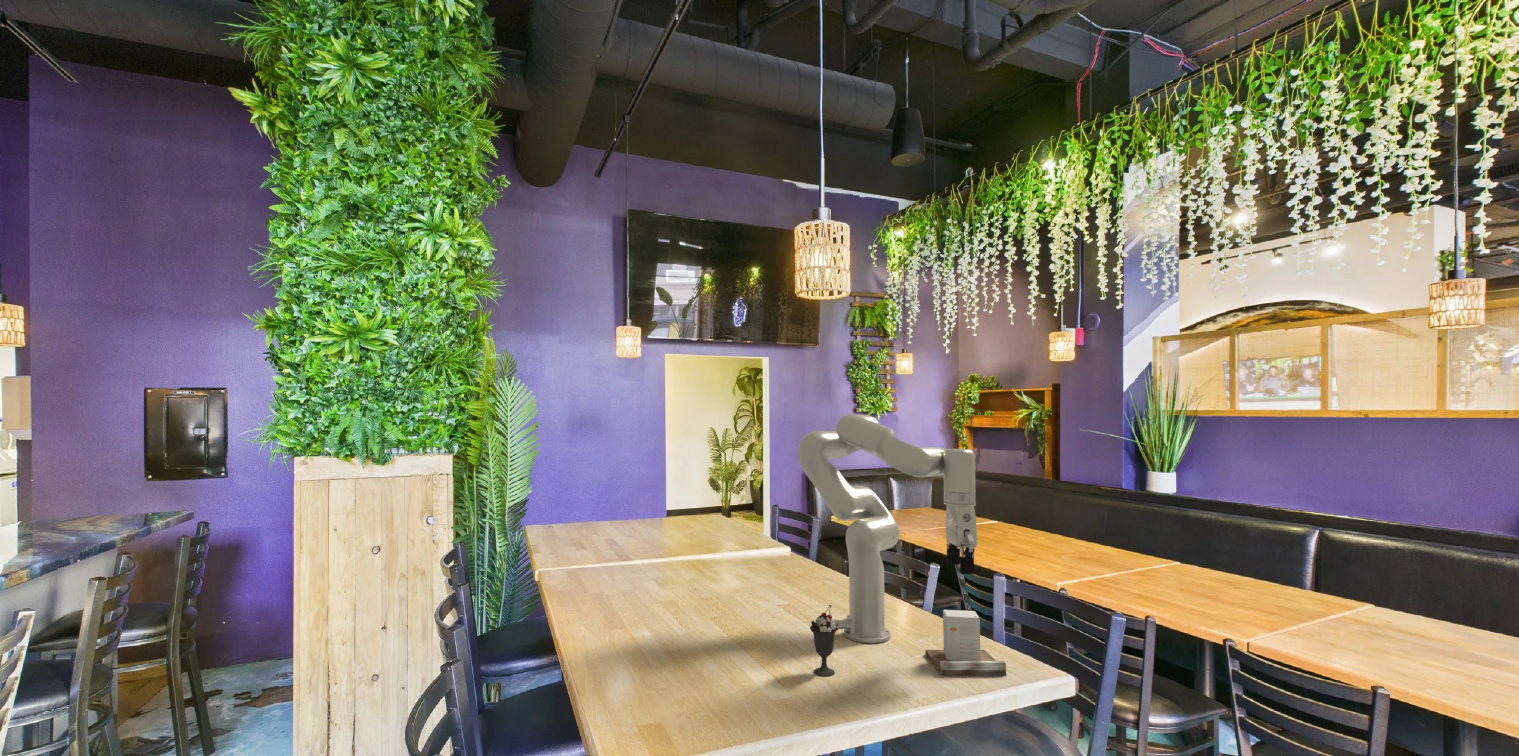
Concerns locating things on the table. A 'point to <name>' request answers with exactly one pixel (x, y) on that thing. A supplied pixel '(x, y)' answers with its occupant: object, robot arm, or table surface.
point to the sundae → (824, 641)
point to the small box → (961, 635)
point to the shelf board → (966, 664)
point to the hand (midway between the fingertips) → (960, 568)
